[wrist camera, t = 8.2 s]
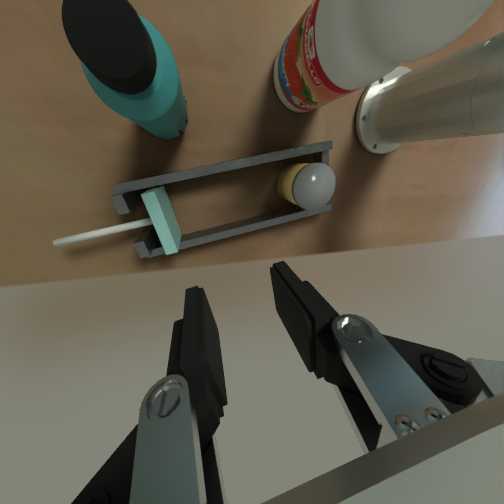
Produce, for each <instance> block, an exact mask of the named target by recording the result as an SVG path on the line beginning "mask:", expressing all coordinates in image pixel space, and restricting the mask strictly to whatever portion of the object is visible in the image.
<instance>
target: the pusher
mask: <svg viewBox="0 0 504 504" xmlns="http://www.w3.org/2000/svg"><path fill="white" fill-rule="evenodd" d="M141 196H142V199H143V201H144V204H145V206H146V208H147V211H148V213H149V215H150V218H146V219H142V220H138V221H133V222H129V223H125V224H120V225H116V226H112V227H107V228H103V229H99V230H94V231H90V232H86V233H81V234H77V235H73V236H68V237H64V238H60V239H56V240H53V244H54V245H55V246H56V247H59V246H63V245H67V244H71V243H75V242H80V241H84V240H88V239H92V238H97V237H101V236H105V235H109V234H113V233H118V232H122V231H126V230H130V229H135V228H139V227H143V226H147V225H151V224H153V225H154V227H155V229H156V232H157V234H158V237H159V239H160V241H161V244H162V246H163V248H164V251H165V253H166V255H169V254H173V253H177V252H178V250H179V245H180V240H181V235H182V233H181V231H180V228H179V225H178V222H177V220H176V217H175V214H174V211H173V209H172V206H171V203H170V200H169V198H168V195H167V192H166V189H165V187H164V185H161V186H156V187H153V188H151V189H149V190H147V191H146V192H144V193H142V194H141Z"/></svg>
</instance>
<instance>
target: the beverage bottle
mask: <svg viewBox="0 0 504 504" xmlns="http://www.w3.org/2000/svg"><path fill="white" fill-rule="evenodd" d="M62 22H63V27H64V30H65V33H66V36H67V38H68V41H69V43H70V45H71V47H72V49H73V50H74V52H75V53H76V55H77V56H78V57H79V59H80V60H81V64H82V67H83V70H84V73H85V75H86V78H87V80H88V81H89V83H90V85H91V87H92V88H93V90H94V91H95V93H96V94H97V95H98V96H99V98H100V99H101V100H102V101H103V102H104V103H105V104H106V105H107V106H109V107H110V108H111V109H112V110H114V111H115V112H117V113H118V114H120V115H122V116H124V117H126V118H128V119H130V120H132V121H133V122H135V123H136V124H138V125H140V126H141V127H142V128H144V129H145V130H147V131H148V132H150V133H151V134H153V135H155V136H157V137H158V138H162V139H163V140H164V139H165V140H166V139H170V140H171V139H173V138H176V137H178V136H179V135H181V134H182V133H183V131H184V130H185V128H186V125H187V123H188V121H187V109H188V108H187V109H186V106H187V103H186V105H185V102H186V100H185V95H184V96H183V92H182V88H181V84H180V80H179V77H178V70H177V65H176V62H175V59H174V56H173V54H172V51H171V49H170V48H169V46H168V44H167V42H166V41H165V39H164V38H163V36H162V35H161V34H160V33H159V31H158V30H157V29H156V28H155V27H154V26H153V25H152V24H151V23H150V22H148V21H147V20H146V19H145V18H143V17H142V16H140V15H138V14H137V12H136V11H135V9H134V8H133V7H132V5H131V4H130V3H129V2H128V1H127V0H63V4H62ZM188 117H189V116H188ZM140 126H139V127H140ZM173 140H174V139H173Z"/></svg>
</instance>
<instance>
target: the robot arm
mask: <svg viewBox="0 0 504 504" xmlns="http://www.w3.org/2000/svg"><path fill="white" fill-rule="evenodd" d="M356 131H357V135H358V138H359V141H360V143H361V144H362V146H363V147H364V148H365V149H366V150H367V151H369V152H371V153H375V154H384V153H389V152H391V151H393V150H395V149H396V148H398V147H399V146H401V145H402V144H403V143H404V142H413V141H424V140H435V139H446V138H456V137H467V136H478V135H489V134H499V133H504V32H503V33H500V34H498V35H496V36H493V37H491V38H488V39H486V40H484V41H481V42H479V43H477V44H474V45H472V46H470V47H467V48H465V49H462V50H460V51H458V52H455V53H453V54H451V55H448V56H446V57H444V58H441V59H439V60H436V61H434V62H432V63H429V64H427V65H425V66H422V67H420V68H418V69H415V70H413V71H412V70H411V69H409V68H407V67H404V66H398V67H396V68H395V69H394V70H393V71H392V72H390V73H389V74H387V75H386V76H384V77H383V78H381V79H379V80H377V81H376V82H374V83H372V84H370V85H368V87H367V88H366V90H365V91H364V93H363V95H362V97H361V100H360V103H359V106H358V110H357V115H356ZM270 274H271V280H272V286H273V292H274V299H275V305H276V310H277V312H278V315H279V316H280V318H281V320H282V322H283V324H284V326H285V327H286V330H287V332H288V333H289V335H290V337H291V339H292V341H293V343H294V345H295V347H296V348H297V350H298V352H299V354H300V356H301V358H302V360H303V362H304V363H305V365H306V367H307V369H308V371H309V372H314V373H315V375H316V377H317V378H318V379H319V378H322V377H324V379H325V380H326V381H327V382H329V383H332V384H333V387H334V389H335V391H336V393H337V395H338V398H339V399H340V402H341V404H342V406H343V408H344V410H345V413H346V415H347V417H348V419H349V421H350V423H351V425H352V428H353V430H354V432H355V434H356V436H357V438H358V441H359V443H360V445H361V447H362V449H363V451H364V454H365V455H363V456H361V457H359V458H356V459H354V460H352V461H350V462H348V463H346V464H344V465H342V466H340V467H337V468H335V469H333V470H331V471H329V472H327V473H325V474H323V475H320V476H318V477H316V478H314V479H312V480H310V481H308V482H306V483H304V484H302V485H299V486H297V487H295V488H293V489H291V490H289V491H287V492H285V493H283V494H280V495H279V496H276V497H274V498H272V499H270V500H268V501H266V502H264V503H262V504H504V362H501V361H493V360H484V359H475V358H468V359H467V360H466V361H464V360H462V359H461V358H459V357H457V356H455V355H454V354H452V353H449V352H446V351H443V350H440V349H436V348H432V347H428V346H424V345H421V344H417V343H413V342H409V341H405V340H402V339H398V338H394V337H391V336H386V335H383V334H381V333H380V332H379V330H378V329H377V328H376V327H375V326H374V325H373V324H372V323H371V322H370V321H369V320H367V319H365V318H364V317H361V316H358V315H354V314H344V315H341V316H340V315H339V314H338V313H337V312H336V311H335V310H334V308H332V306H331V305H330V304H329V303H328V302H327V301H326V300H325V299H324V298H323V297H322V296H321V295H320V293H318V291H317V290H316V289H315V288H314V287H313V286H312V285H311V284H310V283H309V282H308V281H303V282H302V281H301V280H300V279H299V278H298V277H297V275H296V274H295V273H294V272H293V271H292V270H291V269H290V268H289V266H288V265H287V264H286V263H285V262H284V261H281V262H278V263H274V264H273V267H271V268H270ZM183 316H184V317H183V319H181V320H177V321H175V322H174V326H173V333H172V340H171V347H170V354H169V361H168V368H167V375H166V377H164V378H162V379H161V380H159V381H157V382H156V383H155V384H154V385H153V386H152V387H151V388H150V389H149V391H148V392H147V393H146V395H145V397H144V399H143V401H142V403H141V407H140V413H139V421H138V424H137V425H136V426H135V428H134V429H133V430H132V431H131V432H130V434H129V435H128V436H127V437H126V439H125V440H124V441H123V442H122V443H121V445H120V446H119V447H118V448H117V449H116V450H115V452H114V453H113V454H112V455H111V456H110V458H109V459H108V460H107V461H106V463H105V464H104V465H103V466H102V467H101V468H100V470H99V471H98V472H97V473H96V475H95V476H94V477H93V478H92V479H91V480H90V482H89V483H88V484H87V485H86V486H85V488H84V489H83V490H82V491H81V492H80V494H79V495H78V496H77V497H76V498H75V500H74V501H73V502H72V503H71V504H227V498H226V494H225V488H224V482H223V476H222V471H221V465H220V460H219V454H218V449H217V444H216V438H215V431H216V429H217V428H218V426H219V424H220V417H223V416H224V412H223V406H225V405H227V395H226V388H225V379H224V371H223V363H222V356H221V348H220V340H219V332H218V328H217V325H216V323H215V319H214V317H213V314H212V311H211V308H210V305H209V303H208V300H207V297H206V294H205V292H204V289H203V288H199V287H198V286H195V287H192V288H188V289H186V293H185V304H184V315H183Z"/></svg>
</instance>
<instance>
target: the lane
mask: <svg viewBox="0 0 504 504" xmlns="http://www.w3.org/2000/svg"><path fill="white" fill-rule="evenodd" d="M329 149H332V141H326V142H320V143H315V144H310V145H305V146H300V147H295V148H290V149H285V150H280V151H275V152H270V153H265V154H260V155H255V156H250V157H246V158H241V159H236V160H231V161H226V162H221V163H216V164H211V165H206V166H201V167H196V168H191V169H186V170H181V171H176V172H171V173H166V174H161V175H157V176H152V177H147V178H142V179H137V180H132V181H127V182H122V183H118V184H115V185H113V187H114V189H115V191H116V193H117V194H116V195H113V196H111V197H110V198H111V200H112V202H113V204H114V206H115V208H116V210H117V212H118V214H119V215H122V214H126V213H130V212H132V211H133V210H134V209H136V208H137V207H138V206H140V205H141V202H140V200H139V197H138V195H137V193H136V190H139V189H143V188H148V187H153V186H158V185H162V184H167V183H172V182H177V181H181V180H186V179H191V178H196V177H201V176H205V175H210V174H215V173H220V172H224V171H229V170H234V169H239V168H243V167H248V166H253V165H258V164H263V163H267V162H272V161H277V160H282V159H286V158H291V157H296V156H301V155H305V154H310V153H314V163H323V164H326V165H328V166H329ZM331 210H332V204H331V203H329V201H328V203H327V204H326V205H324V206H323V207H321V208H319V209H317V210H306V209H304V208H302V207H300V206H297V207H293V208H289V209H285V210H281V211H277V212H273V213H269V214H265V215H261V216H257V217H253V218H249V219H245V220H241V221H237V222H233V223H229V224H225V225H221V226H217V227H213V228H209V229H205V230H201V231H197V232H193V233H189V234H185V235H181V240H180V245H179V250H181V249H185V248H189V247H192V246H196V245H200V244H204V243H208V242H212V241H215V240H219V239H223V238H227V237H231V236H235V235H239V234H242V233H246V232H250V231H254V230H258V229H262V228H265V227H269V226H273V225H277V224H281V223H285V222H289V221H292V220H296V219H300V218H304V217H308V216H312V215H315V214H319V213H323V212H327V211H331ZM133 244H134V246H135V248H136V250H137V252H138V254H139V256H140V258H144V257H147V258H150V257H154V256H158V255H162V254H165V251H164V248H163V246H162V244H161V241H157V239H156V237H155V234H154V232H153V230H152V229H148V230H144V231H143V232H142V233H141V234H140V236H139V237H138V238H137V240H136V241H135V242H134V243H133Z"/></svg>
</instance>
